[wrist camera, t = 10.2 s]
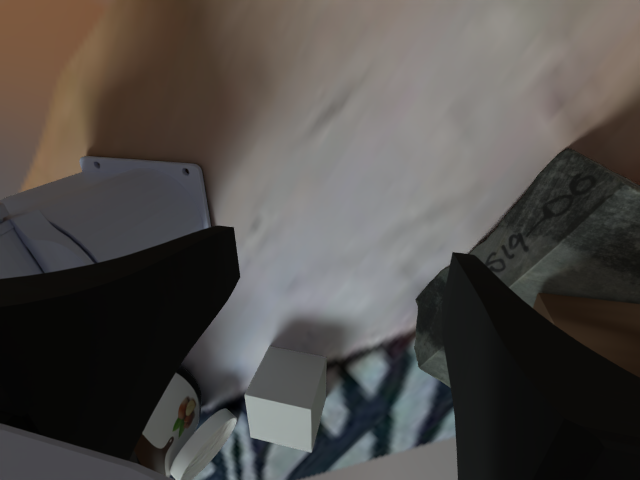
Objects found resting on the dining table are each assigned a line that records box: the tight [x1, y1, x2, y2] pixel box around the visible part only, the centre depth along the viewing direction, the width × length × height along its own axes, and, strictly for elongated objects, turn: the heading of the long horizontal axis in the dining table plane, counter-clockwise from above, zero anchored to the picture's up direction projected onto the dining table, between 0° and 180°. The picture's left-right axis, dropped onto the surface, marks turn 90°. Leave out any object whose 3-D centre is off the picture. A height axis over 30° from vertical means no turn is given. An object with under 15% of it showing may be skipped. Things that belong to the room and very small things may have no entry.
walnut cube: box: [533, 293, 640, 377], centre depth 14 cm, size 5×5×5 cm
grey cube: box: [245, 346, 327, 453], centre depth 28 cm, size 5×5×5 cm
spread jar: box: [129, 366, 237, 480], centre depth 30 cm, size 12×11×12 cm
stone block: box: [414, 148, 640, 387], centre depth 19 cm, size 9×14×5 cm, turn 154°
